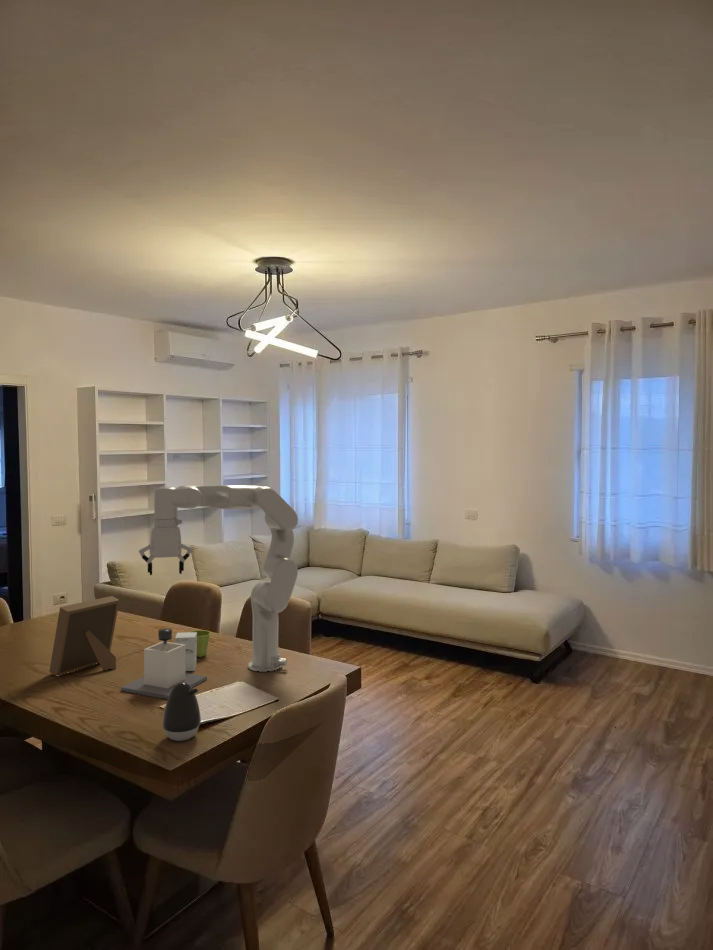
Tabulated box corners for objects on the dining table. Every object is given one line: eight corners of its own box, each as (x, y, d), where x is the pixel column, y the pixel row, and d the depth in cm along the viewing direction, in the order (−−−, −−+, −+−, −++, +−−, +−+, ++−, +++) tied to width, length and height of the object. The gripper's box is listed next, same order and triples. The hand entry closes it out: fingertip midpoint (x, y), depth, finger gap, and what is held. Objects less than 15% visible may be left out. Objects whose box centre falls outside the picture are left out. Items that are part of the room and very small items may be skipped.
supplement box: (174, 672, 228) (174, 637, 228) (176, 665, 235) (176, 632, 235) (195, 671, 229) (195, 636, 229) (196, 664, 236) (197, 631, 236)
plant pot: (196, 660, 241) (196, 638, 241) (181, 655, 247) (181, 633, 247) (215, 654, 249) (215, 632, 249) (200, 650, 254) (200, 628, 254)
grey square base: (206, 679, 221) (207, 642, 220) (170, 699, 202) (170, 658, 202) (160, 672, 228) (160, 635, 227) (120, 690, 209) (120, 651, 209)
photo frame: (49, 674, 223) (49, 604, 223) (101, 658, 242) (102, 594, 242) (76, 683, 216) (76, 610, 215) (127, 665, 235) (128, 599, 234)
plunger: (179, 678, 217) (180, 628, 216) (166, 685, 210) (167, 633, 210) (163, 676, 219) (163, 626, 219) (149, 682, 213) (150, 631, 212)
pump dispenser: (184, 748, 168) (184, 692, 168) (154, 740, 173) (154, 685, 172) (208, 733, 178) (209, 680, 177) (179, 726, 182) (180, 674, 182)
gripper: (191, 522, 220) (191, 570, 220) (139, 523, 214) (138, 573, 215) (193, 524, 213) (192, 574, 213) (138, 525, 207) (138, 577, 208)
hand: (165, 573), depth 214 cm, fingers open, 9 cm apart
